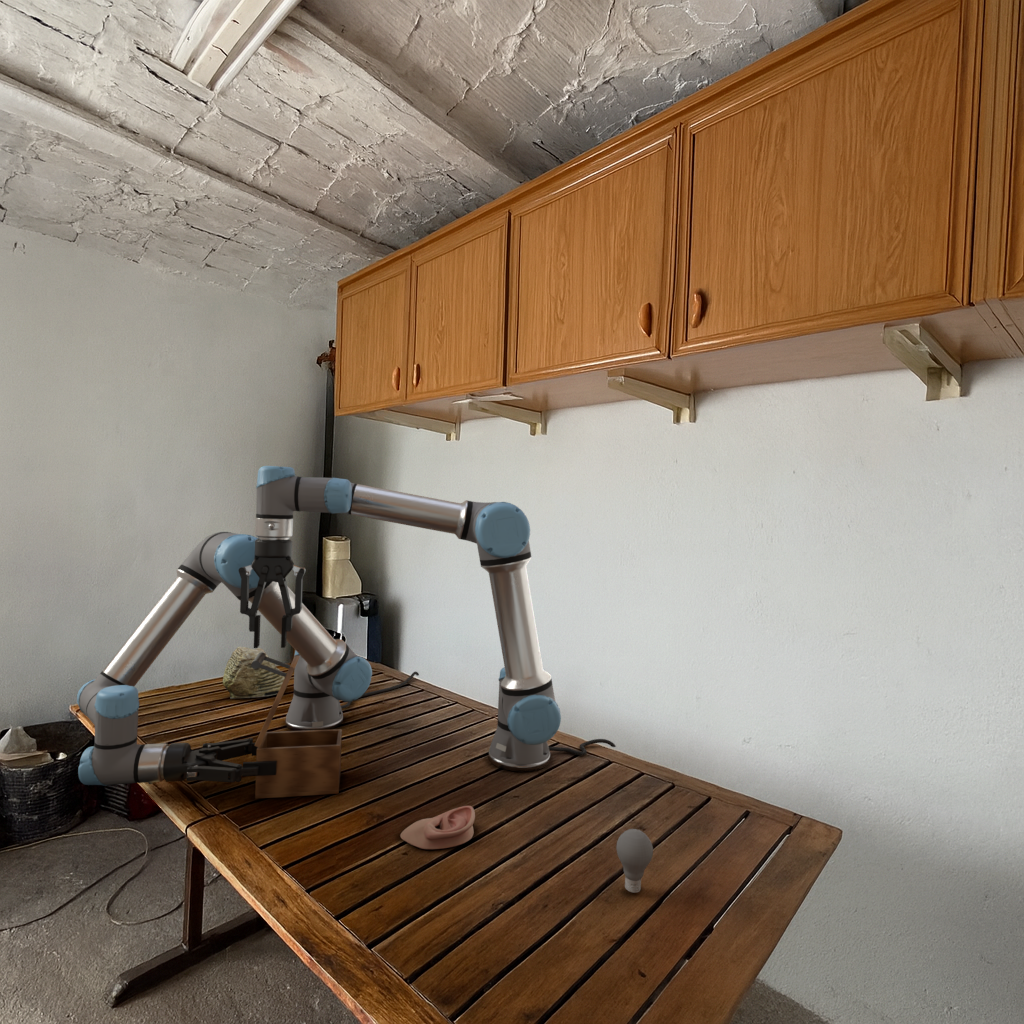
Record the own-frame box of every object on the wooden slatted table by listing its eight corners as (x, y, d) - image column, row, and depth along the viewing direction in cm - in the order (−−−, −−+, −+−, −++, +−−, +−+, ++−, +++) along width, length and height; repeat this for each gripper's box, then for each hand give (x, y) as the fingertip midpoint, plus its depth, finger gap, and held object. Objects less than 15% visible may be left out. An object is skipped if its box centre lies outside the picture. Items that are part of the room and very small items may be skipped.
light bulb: (610, 879, 108) (613, 822, 108) (644, 879, 109) (647, 822, 109) (619, 902, 102) (622, 840, 102) (655, 901, 103) (658, 840, 103)
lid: (299, 656, 142) (263, 642, 140) (295, 668, 133) (255, 653, 131) (266, 730, 141) (229, 717, 139) (259, 747, 132) (218, 734, 130)
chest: (340, 773, 145) (341, 728, 145) (338, 793, 135) (340, 745, 135) (262, 778, 141) (264, 732, 141) (255, 798, 132) (256, 749, 131)
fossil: (218, 695, 195) (220, 647, 195) (278, 685, 208) (279, 640, 207) (228, 703, 189) (230, 653, 188) (289, 692, 201) (290, 645, 201)
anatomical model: (394, 823, 116) (416, 795, 127) (393, 844, 116) (415, 814, 128) (464, 834, 114) (480, 804, 125) (463, 855, 114) (479, 824, 125)
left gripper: (181, 758, 143) (285, 754, 148) (148, 806, 121) (271, 798, 126) (182, 725, 143) (286, 722, 148) (149, 767, 121) (272, 761, 126)
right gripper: (225, 538, 130) (221, 651, 130) (315, 540, 134) (311, 650, 134) (232, 536, 137) (229, 642, 138) (318, 538, 141) (314, 642, 142)
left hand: (279, 757), depth 137 cm, fingers closed on chest, 10 cm apart
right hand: (270, 646), depth 136 cm, fingers open, 5 cm apart
